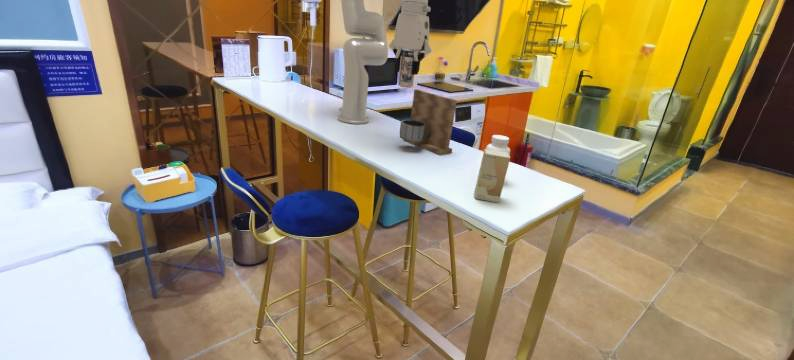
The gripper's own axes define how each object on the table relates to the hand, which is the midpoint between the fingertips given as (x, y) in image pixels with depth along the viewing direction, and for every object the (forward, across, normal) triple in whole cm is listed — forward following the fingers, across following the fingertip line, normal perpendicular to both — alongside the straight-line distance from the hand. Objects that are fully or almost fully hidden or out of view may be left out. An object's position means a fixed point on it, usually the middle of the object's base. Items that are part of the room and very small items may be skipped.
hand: (407, 72), depth 120 cm
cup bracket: (+25, -4, -5) cm, 26 cm away
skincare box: (+25, -38, +17) cm, 48 cm away
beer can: (+5, 0, 0) cm, 5 cm away
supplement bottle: (+25, -34, +3) cm, 43 cm away
